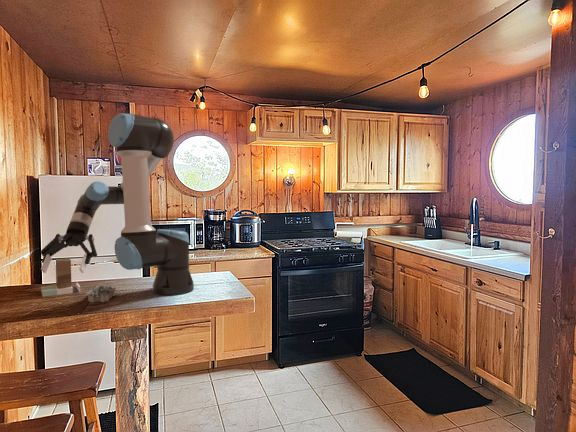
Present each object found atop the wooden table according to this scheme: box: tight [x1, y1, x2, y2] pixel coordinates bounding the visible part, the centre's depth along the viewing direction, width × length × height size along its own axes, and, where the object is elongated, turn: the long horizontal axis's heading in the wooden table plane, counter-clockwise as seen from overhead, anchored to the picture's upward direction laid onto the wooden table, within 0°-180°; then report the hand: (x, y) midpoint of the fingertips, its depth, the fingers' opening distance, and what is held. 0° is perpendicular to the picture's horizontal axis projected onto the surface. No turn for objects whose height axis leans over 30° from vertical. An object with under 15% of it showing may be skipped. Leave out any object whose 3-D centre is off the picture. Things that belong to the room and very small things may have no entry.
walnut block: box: [55, 257, 73, 289], centre depth 146 cm, size 4×4×10 cm
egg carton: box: [86, 284, 117, 303], centre depth 140 cm, size 11×8×4 cm
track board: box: [40, 282, 81, 297], centre depth 146 cm, size 7×12×2 cm, turn 125°
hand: (62, 271), depth 147 cm, fingers open, 13 cm apart
